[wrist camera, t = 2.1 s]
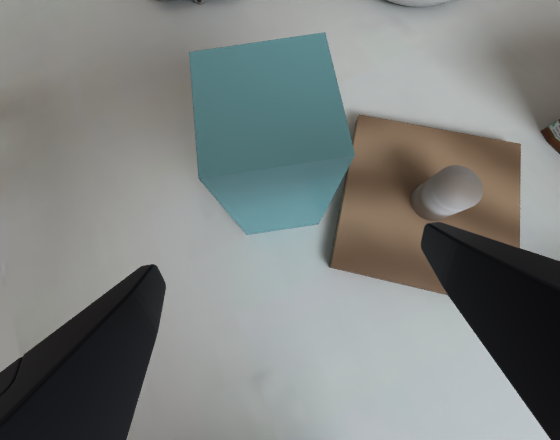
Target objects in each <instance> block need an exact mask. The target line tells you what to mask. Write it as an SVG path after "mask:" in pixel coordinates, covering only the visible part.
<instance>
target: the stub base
mask: <svg viewBox="0 0 560 440" xmlns="http://www.w3.org/2000/svg"><path fill="white" fill-rule="evenodd" d="M352 144H353V148H354V152H355V156H354V158H353V160H352V162H351V164H350V166H349V168H348V169H347V174H346V179H345V184H344V190H343V195H342V200H341V206H340V211H339V217H338V222H337V227H336V233H335V238H334V243H333V249H332V254H331V260H330V265H329V267H330V268H334V269H339V270H343V271H347V272H351V273H356V274H360V275H364V276H369V277H373V278H377V279H381V280H386V281H390V282H394V283H399V284H403V285H407V286H411V287H416V288H420V289H424V290H428V291H433V292H437V293H441V294H446V295H448V294H447V293H446V291H445V290H444V288H443V287H442V285H441V283H440V282H439V280H438V278H437V276H436V275H435V273H434V271H433V269H432V267H431V266H430V264H429V262H428V260H427V259H426V257H425V255H424V253H423V251H422V249H421V239H422V234H423V230H424V226H425V225H426V224H427V223H433V222H442V223H445V224H448V225H451V226H454V227H457V228H460V229H463V230H466V231H469V232H472V233H475V234H478V235H481V236H484V237H487V238H490V239H493V240H496V241H499V242H502V243H505V244H508V245H511V246H515V247H518V248H520V163H521V144H518V143H513V142H507V141H502V140H496V139H491V138H485V137H480V136H474V135H469V134H463V133H458V132H452V131H447V130H441V129H436V128H430V127H425V126H419V125H414V124H408V123H403V122H397V121H391V120H386V119H380V118H375V117H369V116H364V115H359V116H358V118H357V121H356V125H355V131H354V136H353V141H352Z"/></svg>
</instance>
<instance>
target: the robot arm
mask: <svg viewBox="0 0 560 440" xmlns="http://www.w3.org/2000/svg"><path fill="white" fill-rule="evenodd" d="M421 249H422V251H423V253H424V255H425V257H426V259H427V260H428V262H429V264H430V266H431V267H432V269H433V271H434V273H435V275H436V276H437V278H438V280H439V282H440V283H441V285H442V287H443V288H444V290H445V291H446V293H447V294H448V296H449V297H450V299H451V300H452V301H453V303H454V304H455V306H456V307H457V308H458V310H459V311H460V313H461V314H462V315H463V317H464V318H465V320H466V321H467V322H468V324H469V325H470V327H471V328H472V329H473V331H474V332H475V334H476V335H477V337H478V338H479V339H480V341H481V342H482V344H483V345H484V346H485V348H486V349H487V351H488V352H489V353H490V355H491V356H492V358H493V359H494V360H495V362H496V363H497V365H498V366H499V367H500V369H501V370H502V372H503V373H504V374H505V376H506V377H507V379H508V380H509V382H510V383H511V384H512V386H513V387H514V389H515V390H516V391H517V393H518V394H519V396H520V397H521V398H522V400H523V401H524V403H525V404H526V405H527V407H528V408H529V410H530V411H531V412H532V414H533V415H534V417H535V418H536V419H537V421H538V422H539V424H540V425H541V427H542V428H543V429H544V431H545V432H546V434H547V435H548V436H549V438H550V439H551V440H560V261H557V260H554V259H551V258H548V257H545V256H542V255H539V254H536V253H533V252H530V251H527V250H524V249H521V248H518V247H515V246H511V245H508V244H505V243H502V242H499V241H496V240H493V239H490V238H487V237H484V236H481V235H478V234H475V233H472V232H469V231H466V230H463V229H460V228H457V227H454V226H451V225H448V224H445V223H442V222H433V223H427V224H426V225H425V226H424V230H423V234H422V239H421ZM165 290H166V284H165V281H164V279H163V277H162V275H161V273H160V271H159V269H158V267H157V266H156V265H154V264H151V265H145V266H141V267H140V268H138V269H137V270H136V271H134V272H133V273H132V274H130V275H129V276H128V277H126V278H125V279H124V280H122V281H121V282H120V283H118V284H117V285H116V286H114V287H113V288H112V289H110V290H109V291H108V292H106V293H105V294H104V295H103V296H101V297H100V298H99V299H97V300H96V301H95V302H93V303H92V304H91V305H89V306H88V307H87V308H85V309H84V310H83V311H81V312H80V313H79V314H77V315H76V316H75V317H73V318H72V319H71V320H69V321H68V322H67V323H65V324H64V325H63V326H61V327H60V328H59V329H57V330H56V331H55V332H53V333H52V334H51V335H49V336H48V337H47V338H45V339H44V340H43V341H41V342H40V343H39V344H37V345H36V346H35V347H33V348H32V349H31V350H29V351H28V352H27V353H25V354H24V356H23V357H20V358H19V359H17V360H16V361H15V362H14V363H12V364H11V365H9V366H8V367H7V368H6V369H4V370H3V371H2V372H0V440H126V439H127V435H128V432H129V429H130V425H131V422H132V418H133V415H134V412H135V408H136V405H137V401H138V398H139V395H140V391H141V388H142V384H143V381H144V378H145V374H146V371H147V367H148V364H149V361H150V357H151V354H152V350H153V347H154V344H155V340H156V337H157V333H158V328H159V324H160V318H161V312H162V307H163V301H164V295H165Z"/></svg>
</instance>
